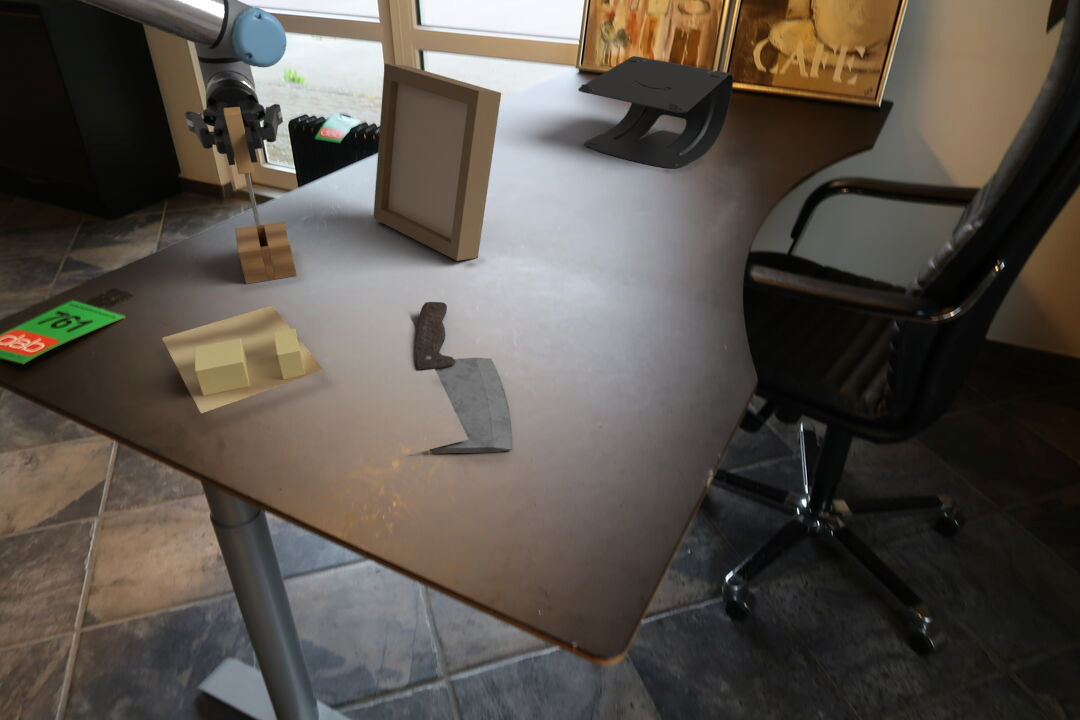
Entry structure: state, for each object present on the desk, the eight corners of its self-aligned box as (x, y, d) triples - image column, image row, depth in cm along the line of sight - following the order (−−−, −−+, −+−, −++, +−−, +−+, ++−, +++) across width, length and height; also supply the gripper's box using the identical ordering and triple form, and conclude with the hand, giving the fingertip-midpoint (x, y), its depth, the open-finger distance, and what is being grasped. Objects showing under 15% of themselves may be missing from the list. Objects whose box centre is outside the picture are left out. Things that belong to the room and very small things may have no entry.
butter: (202, 371, 82) (194, 346, 80) (247, 362, 84) (240, 338, 82) (203, 396, 79) (194, 371, 77) (250, 386, 80) (243, 361, 78)
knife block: (242, 258, 109) (235, 228, 106) (290, 250, 111) (284, 221, 108) (246, 284, 102) (238, 253, 99) (296, 275, 104) (290, 245, 102)
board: (164, 347, 89) (161, 337, 88) (274, 314, 96) (272, 305, 95) (204, 423, 77) (200, 413, 76) (326, 379, 84) (324, 369, 83)
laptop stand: (727, 144, 157) (740, 71, 148) (675, 173, 142) (686, 94, 133) (630, 121, 169) (636, 53, 161) (572, 146, 154) (576, 72, 145)
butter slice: (278, 356, 85) (273, 332, 83) (300, 352, 86) (295, 328, 84) (283, 379, 81) (277, 355, 79) (305, 375, 82) (300, 350, 80)
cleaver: (406, 315, 96) (405, 302, 94) (477, 307, 98) (477, 294, 96) (429, 465, 73) (427, 450, 71) (521, 451, 74) (521, 436, 73)
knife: (248, 210, 102) (223, 104, 94) (262, 208, 103) (238, 103, 94) (250, 226, 98) (224, 117, 89) (266, 224, 99) (241, 116, 90)
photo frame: (457, 266, 108) (447, 98, 93) (373, 223, 120) (353, 69, 105) (525, 237, 117) (525, 79, 102) (441, 199, 129) (431, 54, 114)
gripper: (288, 123, 112) (306, 174, 94) (186, 133, 107) (185, 189, 90) (279, 74, 108) (296, 118, 90) (172, 82, 103) (168, 130, 85)
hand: (241, 153), depth 90 cm, fingers closed on knife, 2 cm apart
